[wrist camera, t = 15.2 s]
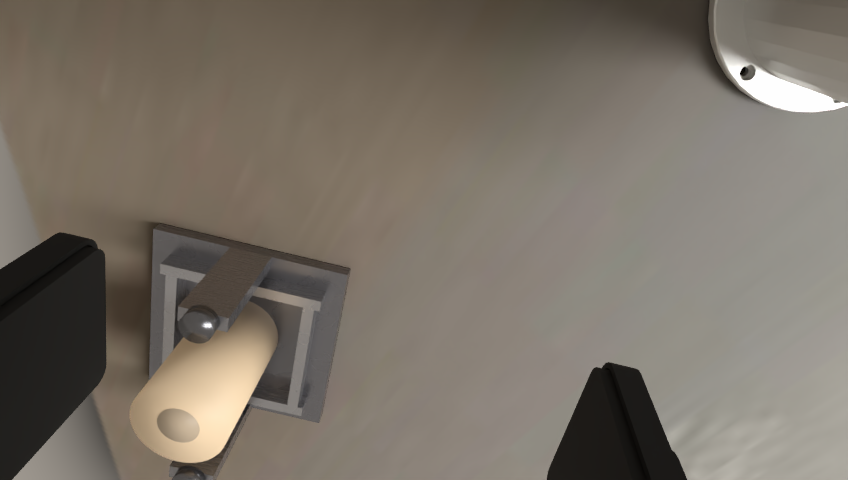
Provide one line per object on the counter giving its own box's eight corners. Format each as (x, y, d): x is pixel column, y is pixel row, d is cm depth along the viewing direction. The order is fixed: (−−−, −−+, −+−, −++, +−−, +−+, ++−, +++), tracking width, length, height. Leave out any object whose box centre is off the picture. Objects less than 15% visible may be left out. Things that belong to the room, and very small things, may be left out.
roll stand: (351, 262, 42) (318, 342, 33) (321, 419, 49) (285, 522, 40) (160, 217, 42) (73, 285, 33) (154, 380, 49) (80, 475, 39)
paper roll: (282, 308, 43) (230, 399, 34) (274, 372, 46) (223, 472, 37) (202, 289, 43) (129, 375, 34) (198, 354, 46) (129, 451, 37)
